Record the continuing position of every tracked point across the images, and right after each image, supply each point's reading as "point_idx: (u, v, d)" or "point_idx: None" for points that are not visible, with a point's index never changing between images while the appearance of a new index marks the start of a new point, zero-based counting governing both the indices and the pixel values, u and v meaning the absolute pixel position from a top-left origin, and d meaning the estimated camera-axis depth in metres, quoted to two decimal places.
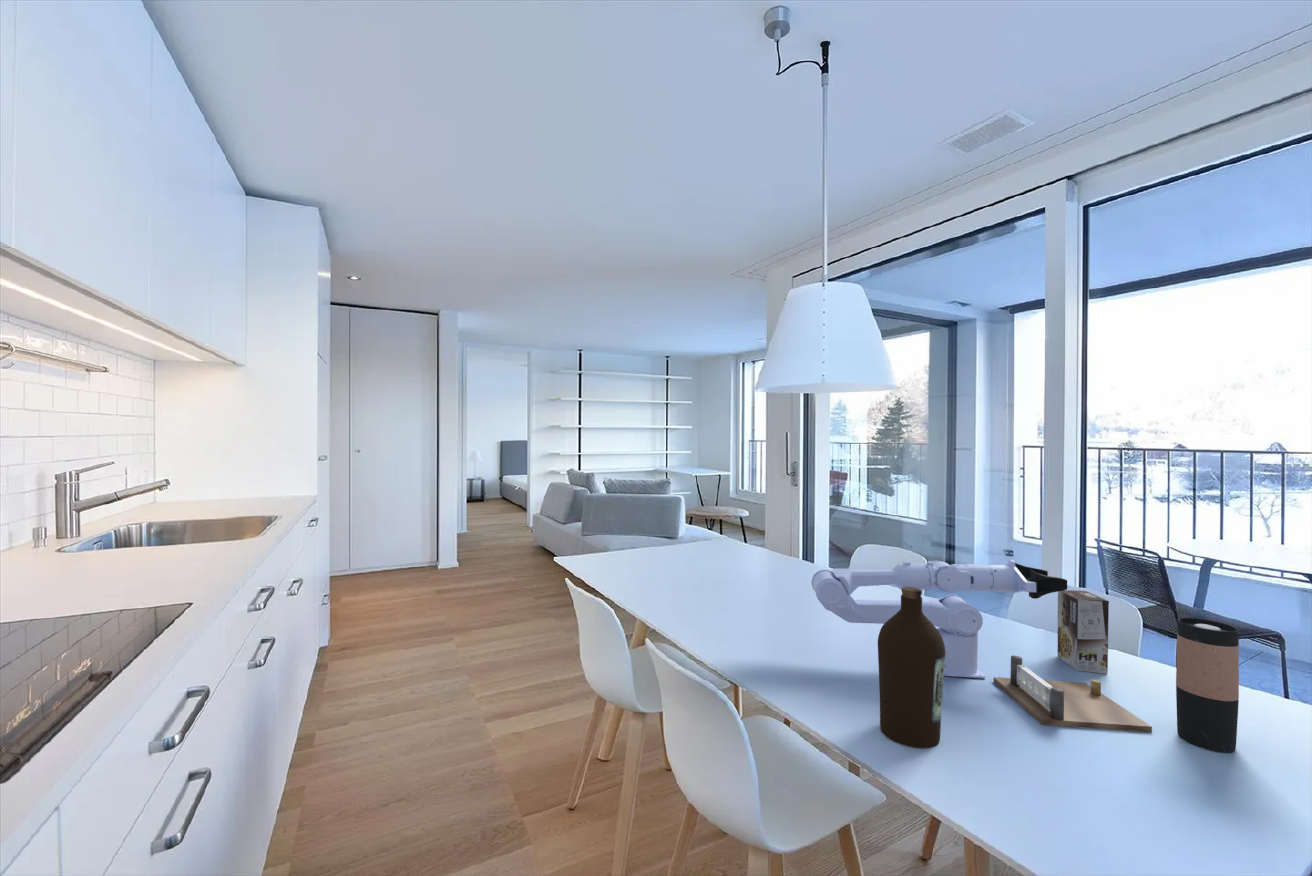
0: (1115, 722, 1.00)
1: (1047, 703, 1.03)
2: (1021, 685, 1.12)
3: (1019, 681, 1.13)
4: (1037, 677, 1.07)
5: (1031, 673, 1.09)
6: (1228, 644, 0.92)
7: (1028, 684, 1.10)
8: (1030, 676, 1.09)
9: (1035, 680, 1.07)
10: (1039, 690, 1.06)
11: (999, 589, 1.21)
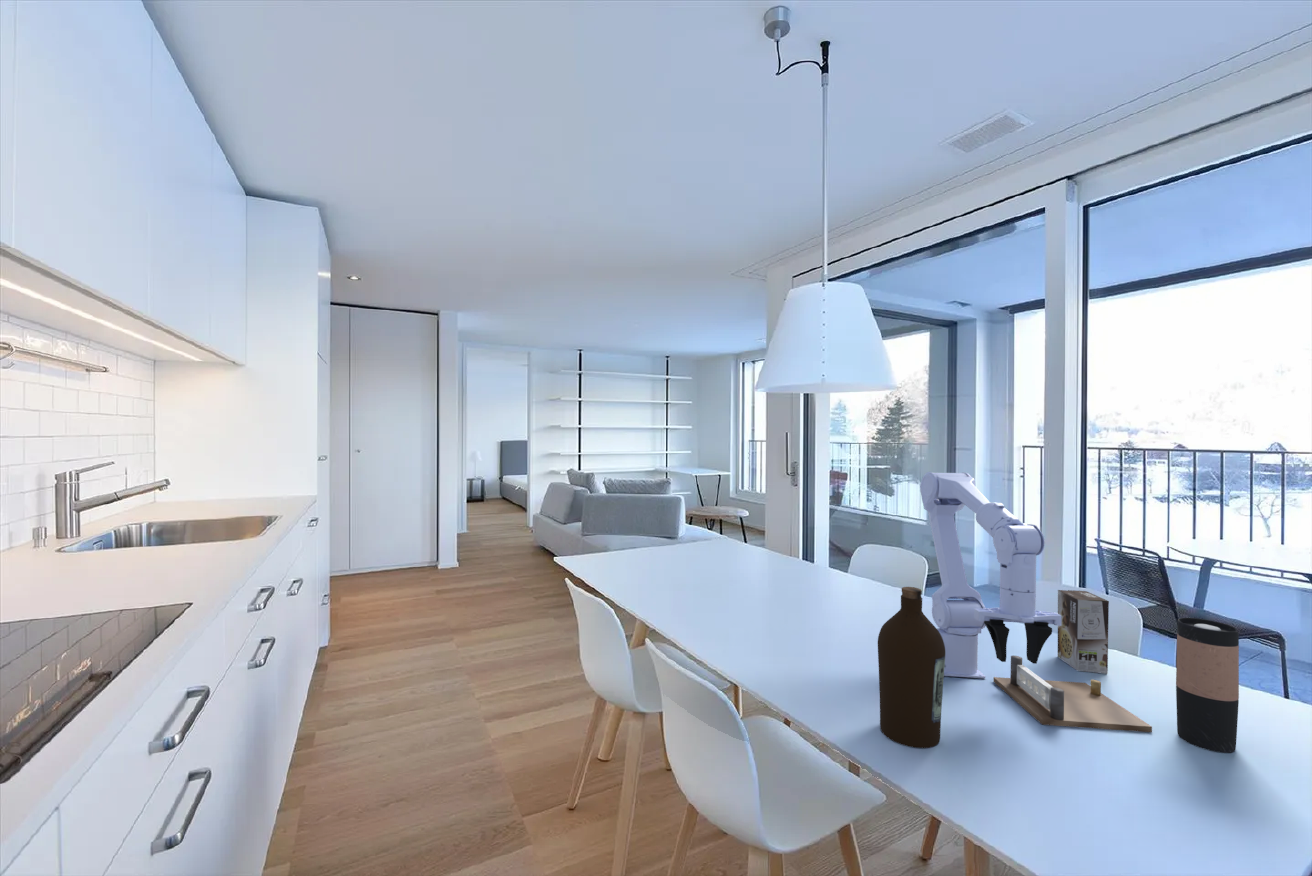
0: (1115, 722, 1.00)
1: (1047, 703, 1.03)
2: (1021, 685, 1.12)
3: (1019, 681, 1.13)
4: (1037, 677, 1.07)
5: (1031, 673, 1.09)
6: (1228, 644, 0.92)
7: (1028, 684, 1.10)
8: (1030, 676, 1.09)
9: (1035, 680, 1.07)
10: (1039, 690, 1.06)
11: None
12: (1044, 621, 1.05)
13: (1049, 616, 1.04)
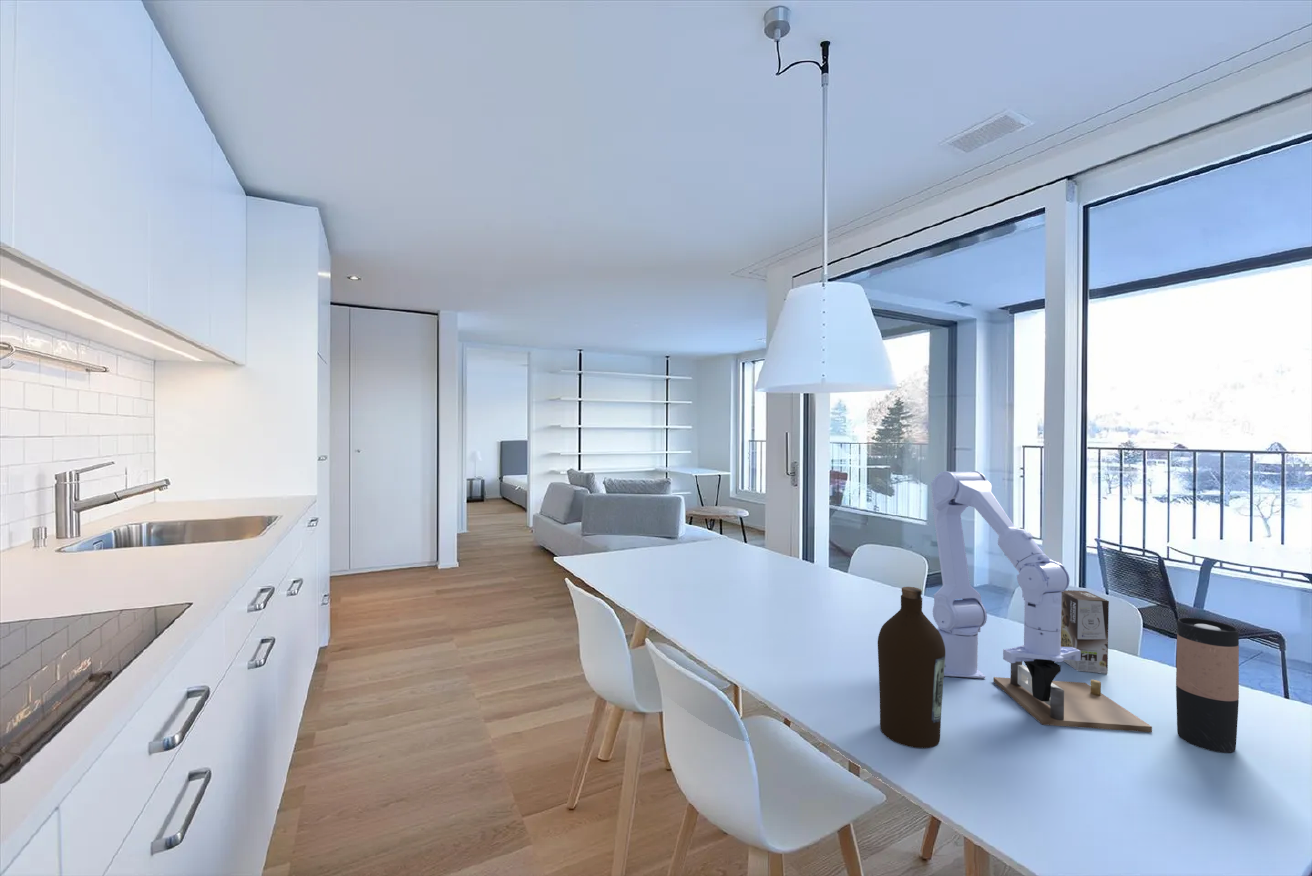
0: (1115, 722, 1.00)
1: None
2: (1023, 685, 1.12)
3: (1020, 681, 1.12)
4: None
5: None
6: (1228, 644, 0.92)
7: (1031, 684, 1.10)
8: None
9: None
10: None
11: (1024, 631, 1.07)
12: (1065, 657, 1.05)
13: (1071, 652, 1.04)
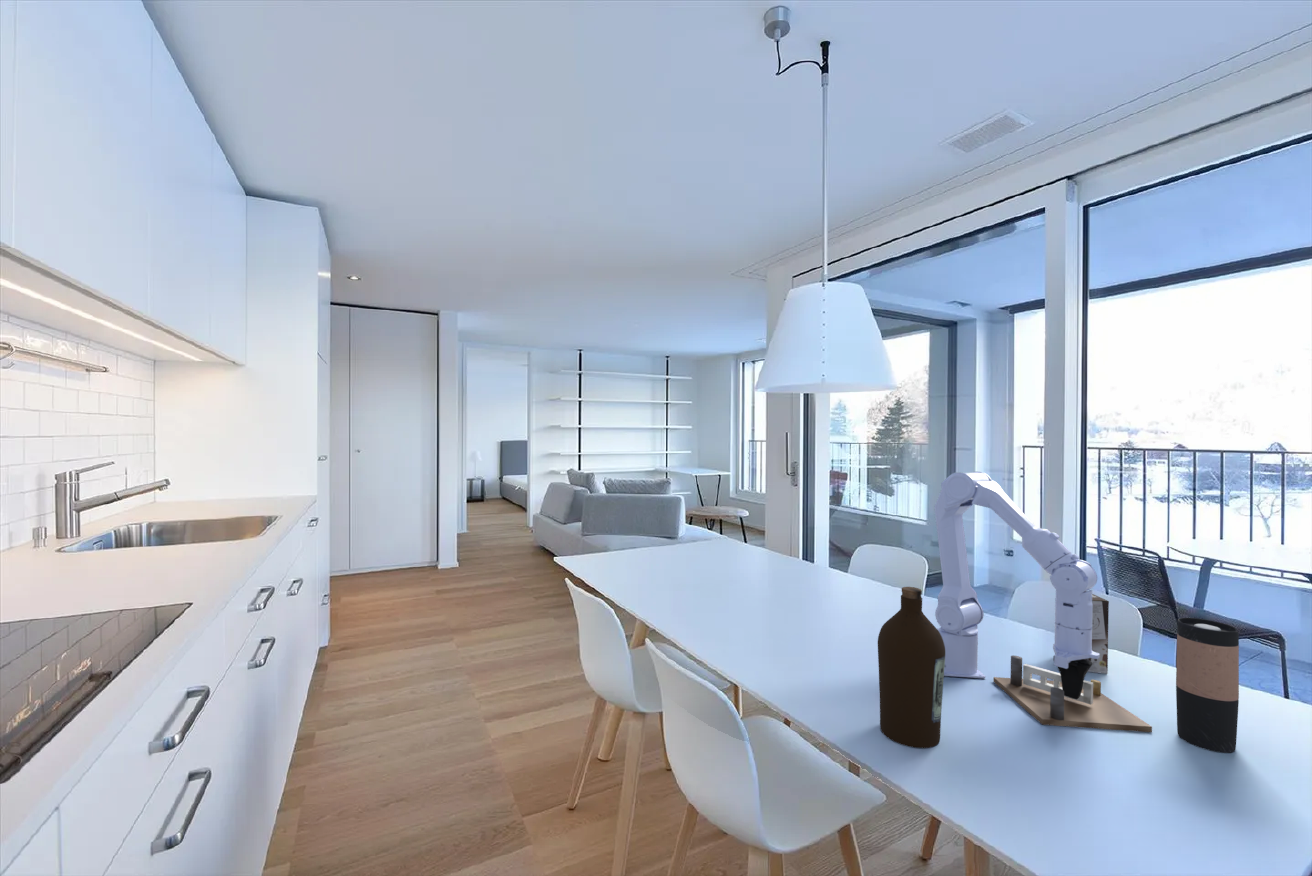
0: (1115, 722, 1.00)
1: (1088, 699, 1.05)
2: (1033, 685, 1.12)
3: (1028, 681, 1.13)
4: (1059, 674, 1.09)
5: (1048, 671, 1.11)
6: (1228, 644, 0.92)
7: (1045, 682, 1.11)
8: (1052, 674, 1.10)
9: None
10: None
11: (1057, 632, 1.07)
12: None
13: None
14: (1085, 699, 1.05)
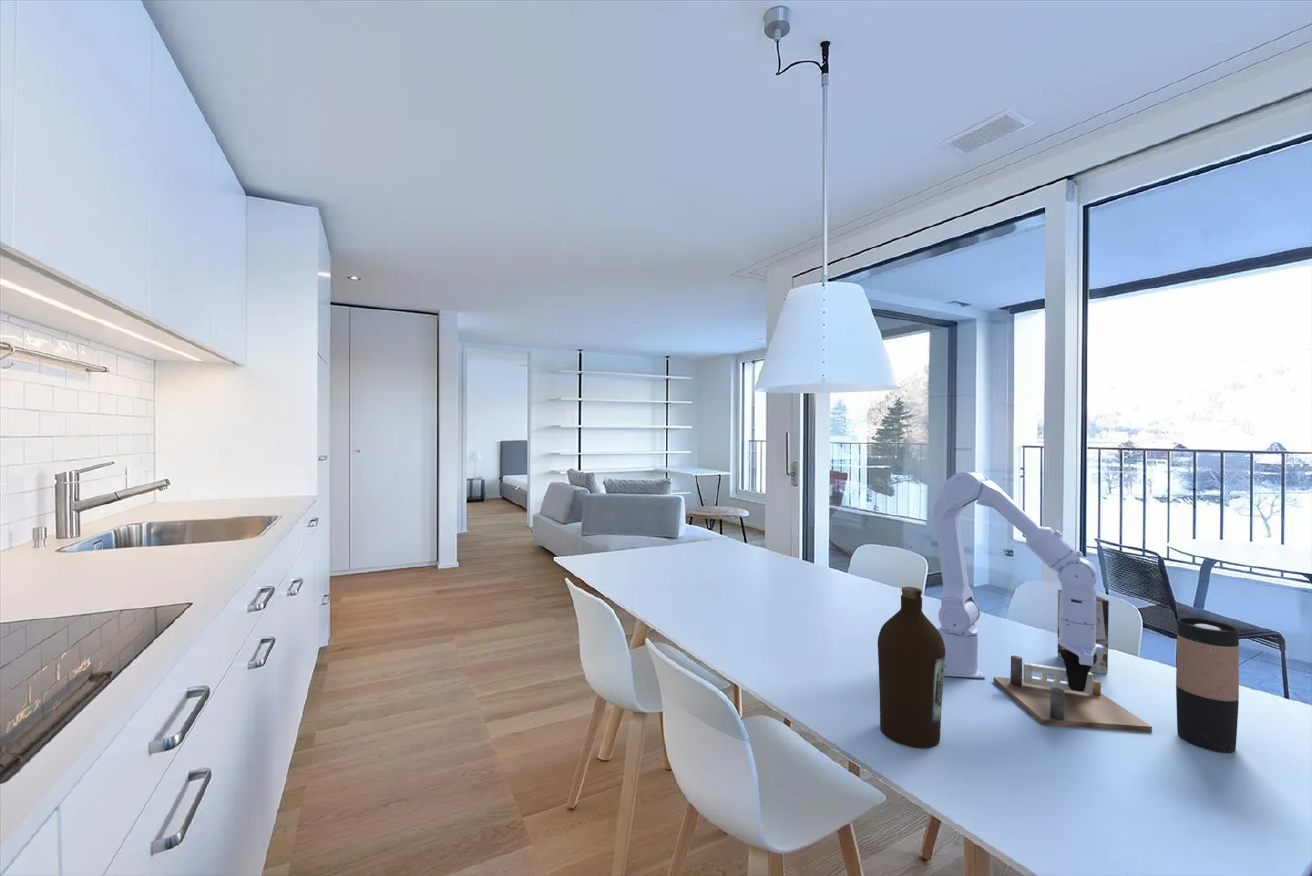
0: (1115, 722, 1.00)
1: (1090, 689, 1.09)
2: (1035, 683, 1.13)
3: (1031, 680, 1.13)
4: (1060, 668, 1.12)
5: (1049, 667, 1.13)
6: (1228, 644, 0.92)
7: (1046, 679, 1.12)
8: (1054, 670, 1.12)
9: (1065, 672, 1.11)
10: None
11: (1067, 628, 1.09)
12: None
13: None
14: (1087, 690, 1.10)
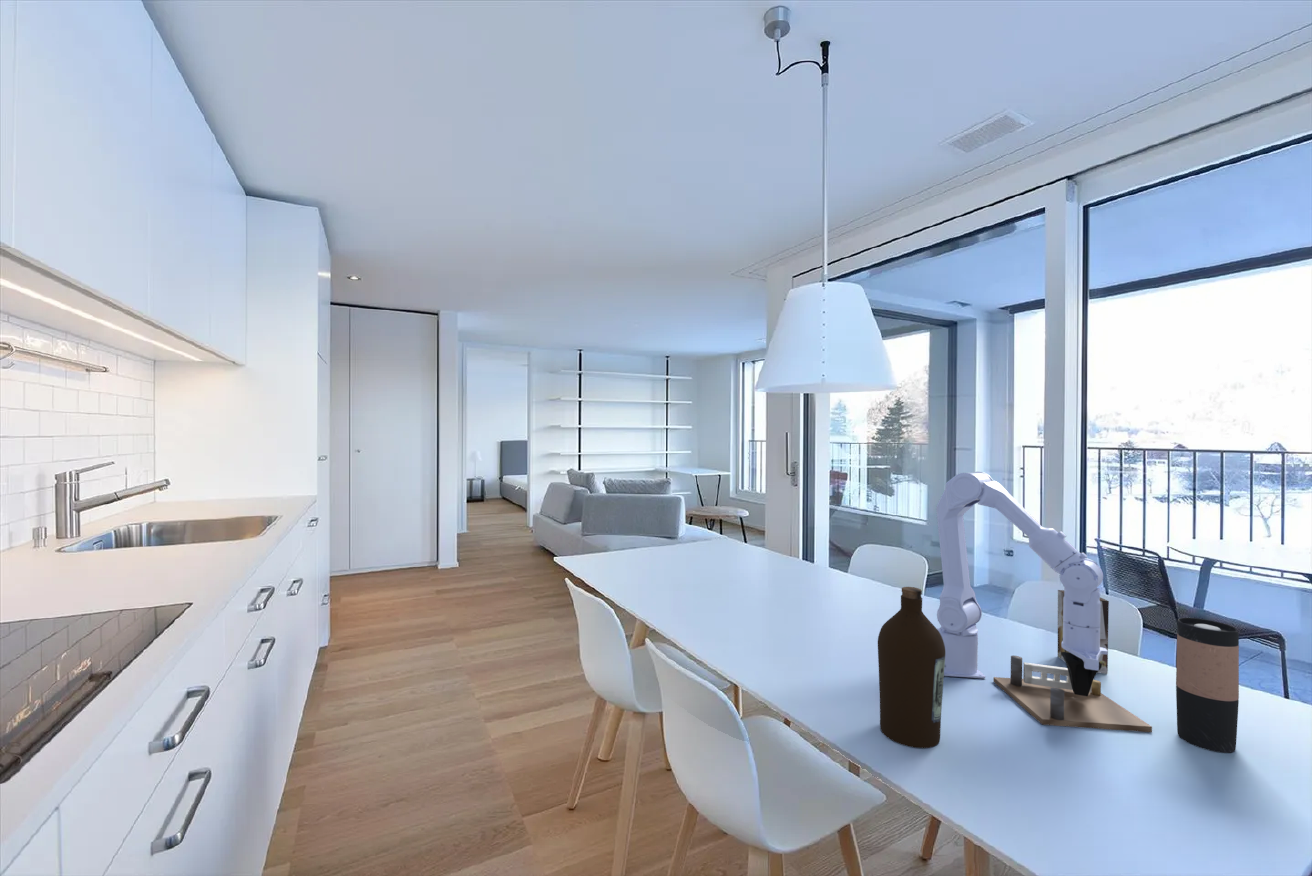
0: (1115, 722, 1.00)
1: None
2: (1035, 682, 1.13)
3: (1031, 679, 1.13)
4: (1059, 667, 1.12)
5: (1048, 666, 1.13)
6: (1228, 644, 0.92)
7: (1046, 678, 1.13)
8: (1054, 669, 1.12)
9: (1064, 671, 1.11)
10: None
11: (1071, 632, 1.07)
12: None
13: None
14: None
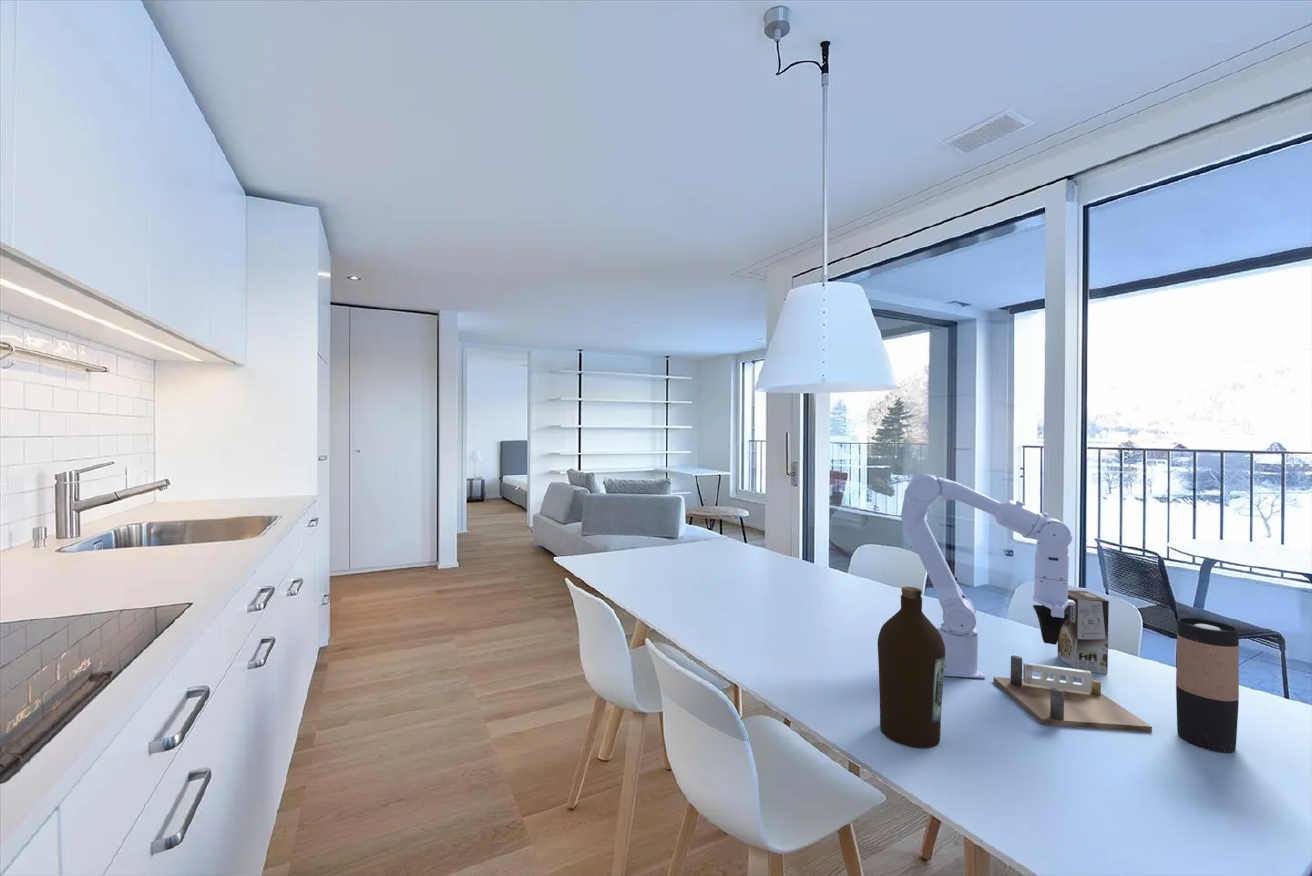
0: (1115, 722, 1.00)
1: (1089, 687, 1.10)
2: (1035, 682, 1.13)
3: (1031, 679, 1.13)
4: (1059, 667, 1.12)
5: (1048, 666, 1.13)
6: (1228, 644, 0.92)
7: (1046, 678, 1.13)
8: (1054, 669, 1.12)
9: (1064, 671, 1.11)
10: (1071, 679, 1.11)
11: (1041, 585, 1.15)
12: None
13: None
14: (1086, 688, 1.10)
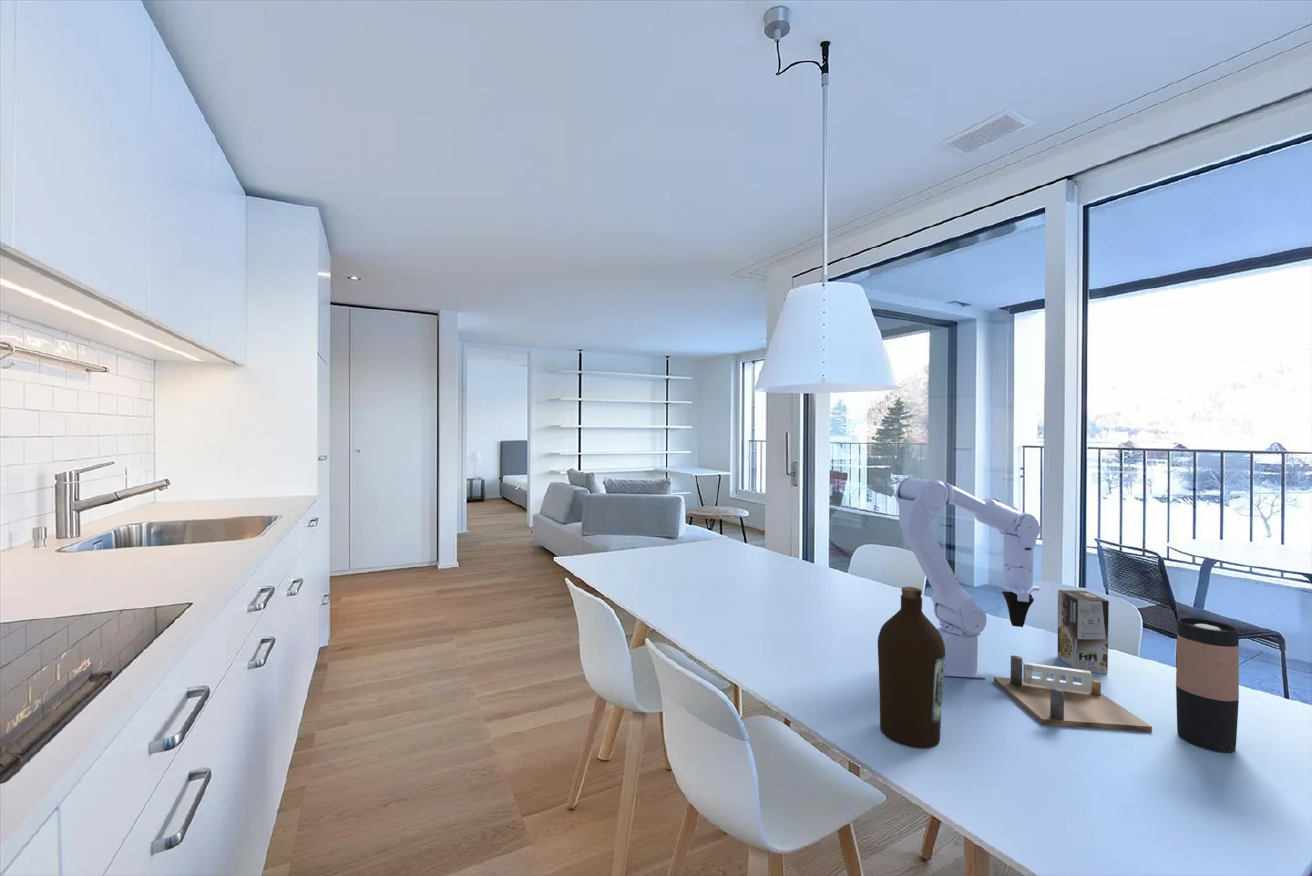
0: (1115, 722, 1.00)
1: (1089, 687, 1.10)
2: (1035, 682, 1.13)
3: (1031, 679, 1.13)
4: (1059, 667, 1.12)
5: (1048, 666, 1.13)
6: (1228, 644, 0.92)
7: (1046, 678, 1.13)
8: (1054, 669, 1.12)
9: (1064, 671, 1.11)
10: (1071, 679, 1.11)
11: (1009, 572, 1.25)
12: None
13: None
14: (1086, 688, 1.10)
